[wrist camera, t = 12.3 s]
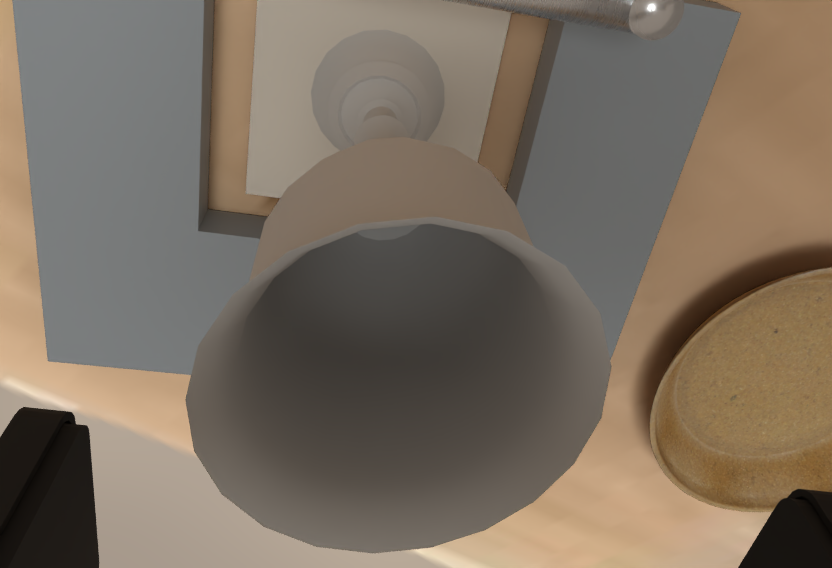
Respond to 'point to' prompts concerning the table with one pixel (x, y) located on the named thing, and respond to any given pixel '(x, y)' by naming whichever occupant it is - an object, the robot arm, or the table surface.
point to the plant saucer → (752, 398)
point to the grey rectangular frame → (240, 233)
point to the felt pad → (323, 29)
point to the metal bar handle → (599, 13)
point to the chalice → (394, 334)
